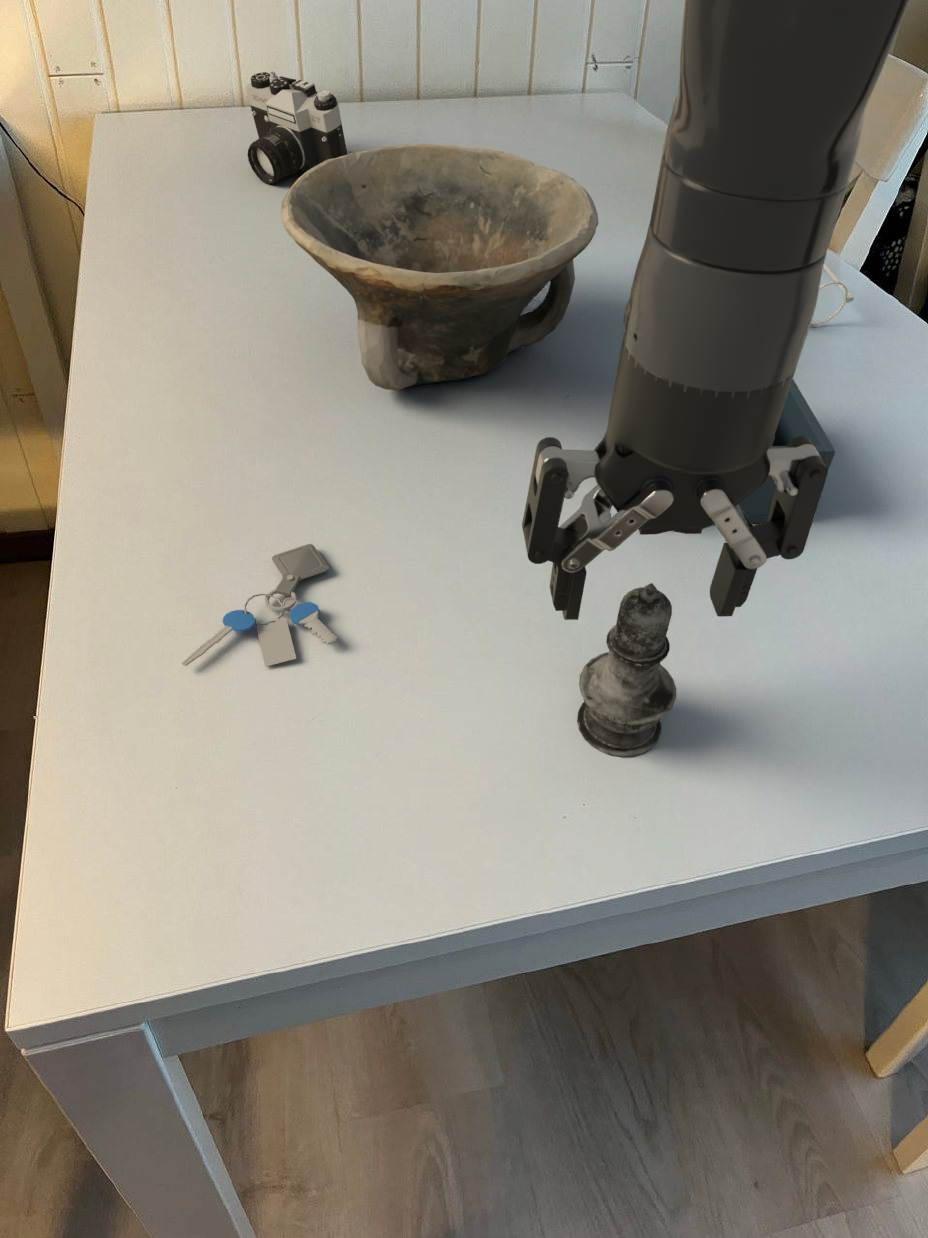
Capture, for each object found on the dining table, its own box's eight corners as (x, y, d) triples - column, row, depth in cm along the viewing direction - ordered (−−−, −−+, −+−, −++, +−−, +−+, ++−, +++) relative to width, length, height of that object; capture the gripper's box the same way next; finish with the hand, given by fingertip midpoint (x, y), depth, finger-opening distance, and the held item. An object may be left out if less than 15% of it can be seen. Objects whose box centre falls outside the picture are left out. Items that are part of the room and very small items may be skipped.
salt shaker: (570, 685, 62) (594, 545, 54) (660, 689, 62) (698, 550, 54) (574, 758, 58) (601, 619, 49) (671, 763, 58) (714, 624, 50)
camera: (225, 175, 124) (201, 95, 116) (285, 138, 128) (266, 59, 120) (302, 207, 117) (282, 125, 109) (362, 167, 122) (348, 86, 114)
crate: (759, 425, 84) (779, 355, 80) (809, 523, 75) (836, 451, 70) (607, 426, 83) (619, 357, 79) (639, 526, 74) (654, 453, 69)
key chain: (289, 541, 71) (288, 532, 70) (389, 572, 69) (389, 564, 68) (181, 668, 62) (178, 660, 61) (292, 709, 60) (291, 700, 59)
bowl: (442, 475, 78) (446, 302, 67) (238, 355, 90) (214, 192, 79) (633, 357, 92) (662, 199, 82) (435, 267, 104) (437, 119, 94)
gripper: (561, 385, 38) (525, 662, 49) (904, 384, 39) (791, 654, 51) (536, 297, 43) (508, 565, 55) (839, 298, 44) (750, 560, 56)
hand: (644, 607), depth 53 cm, fingers open, 8 cm apart
